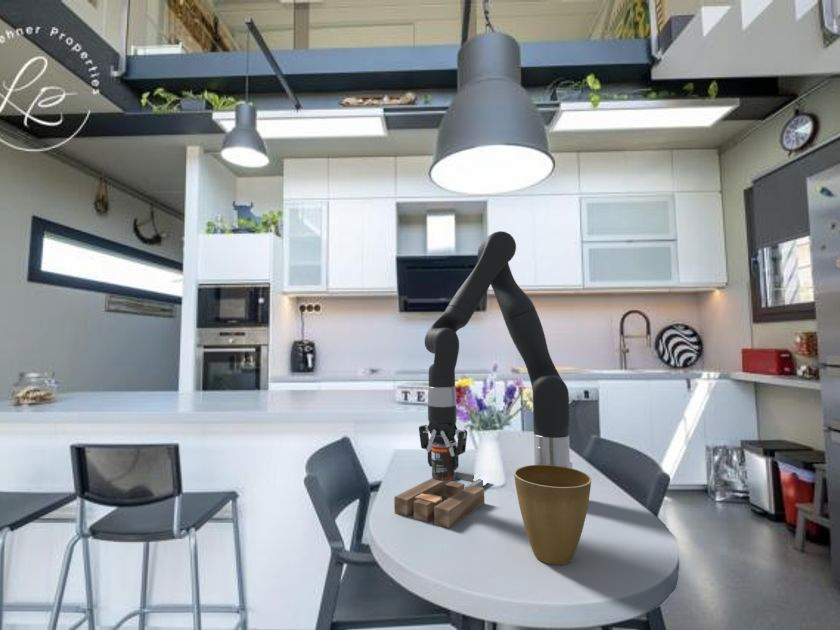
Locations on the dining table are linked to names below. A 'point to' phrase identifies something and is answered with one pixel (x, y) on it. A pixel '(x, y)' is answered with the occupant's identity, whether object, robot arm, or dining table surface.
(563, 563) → the plant pot
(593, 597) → the dining table surface
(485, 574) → the dining table surface
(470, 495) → the socket board
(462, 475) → the cradle
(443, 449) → the supplement bottle
